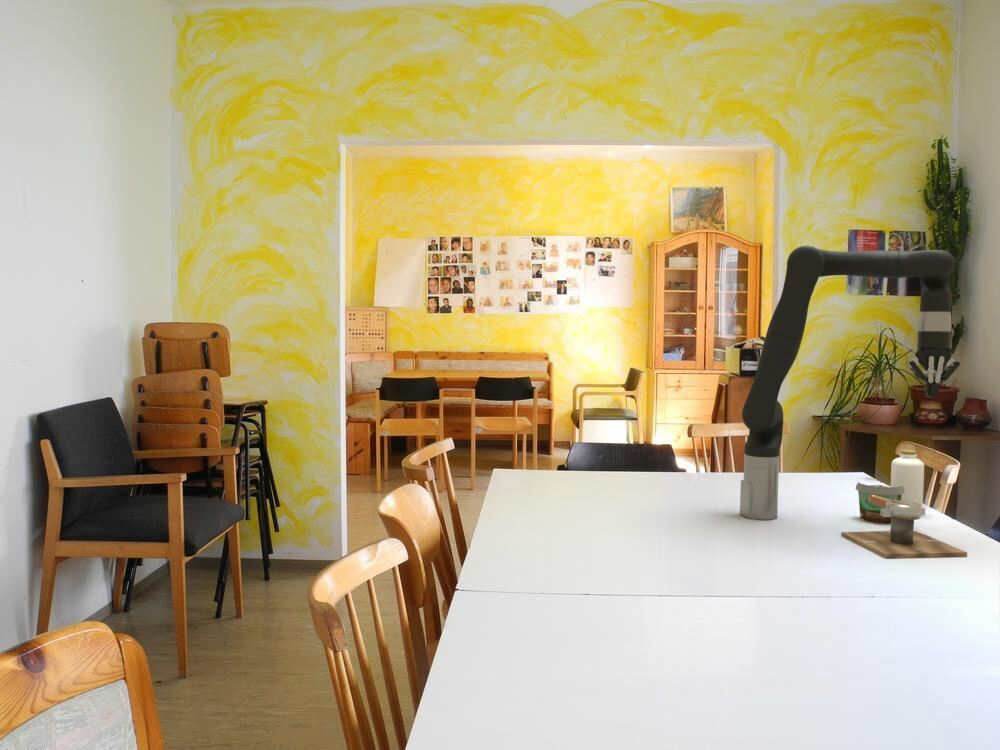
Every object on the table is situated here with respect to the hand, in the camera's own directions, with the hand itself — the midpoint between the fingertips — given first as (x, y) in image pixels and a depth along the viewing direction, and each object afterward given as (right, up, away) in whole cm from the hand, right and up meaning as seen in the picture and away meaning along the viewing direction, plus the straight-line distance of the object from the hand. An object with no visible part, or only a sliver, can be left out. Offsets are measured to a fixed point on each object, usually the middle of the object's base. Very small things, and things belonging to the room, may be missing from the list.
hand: (931, 397), depth 215 cm
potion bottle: (+5, -34, +23) cm, 41 cm away
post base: (-13, -36, -11) cm, 40 cm away
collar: (-14, -28, -7) cm, 32 cm away
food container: (-8, -34, +14) cm, 38 cm away
